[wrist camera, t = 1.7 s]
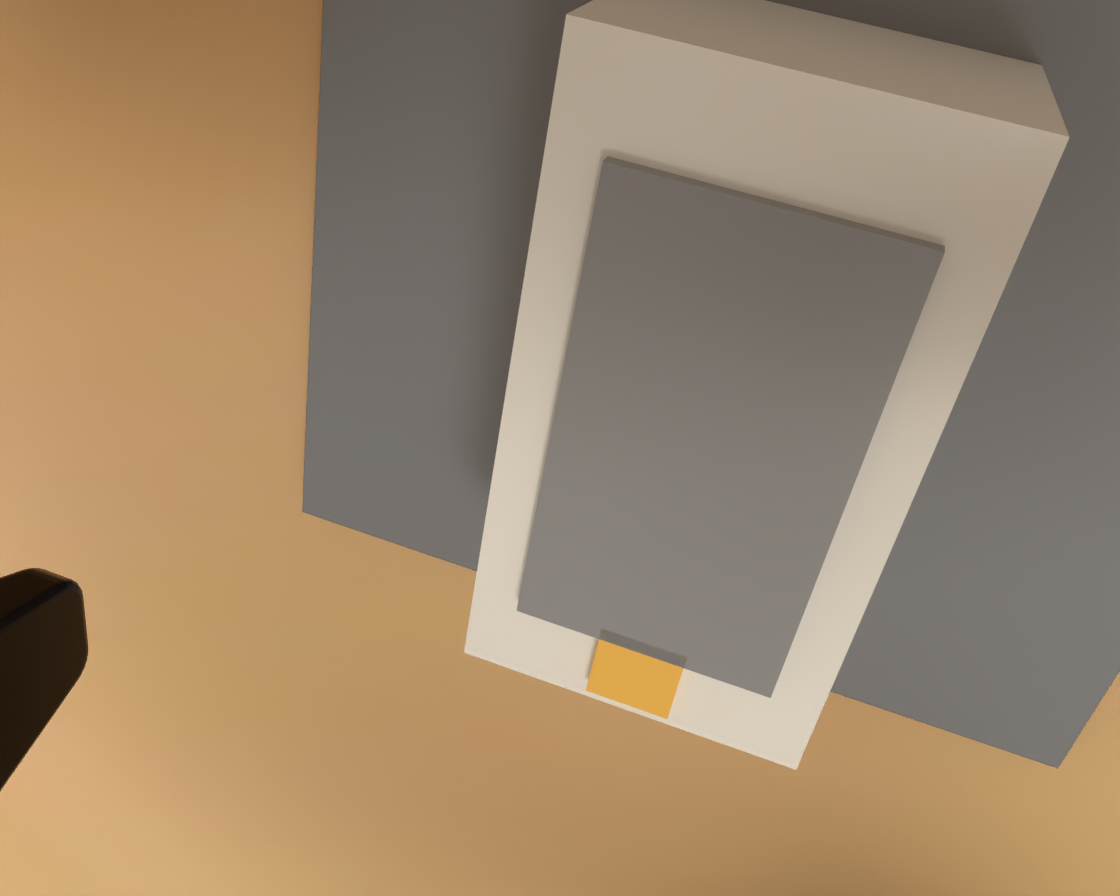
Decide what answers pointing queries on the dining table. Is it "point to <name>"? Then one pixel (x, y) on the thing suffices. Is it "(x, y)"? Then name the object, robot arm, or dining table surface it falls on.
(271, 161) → the dining table surface
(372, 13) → the subfloor mat
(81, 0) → the dining table surface
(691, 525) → the block
